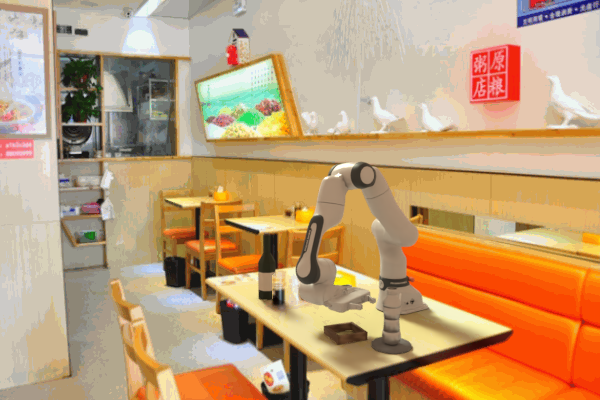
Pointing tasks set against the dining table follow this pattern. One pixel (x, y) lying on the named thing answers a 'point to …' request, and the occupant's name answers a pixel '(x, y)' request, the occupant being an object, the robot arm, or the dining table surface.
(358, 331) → the bottle holder
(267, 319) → the dining table surface
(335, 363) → the dining table surface
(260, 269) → the wine bottle
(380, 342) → the serving mat
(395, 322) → the plastic bottle
